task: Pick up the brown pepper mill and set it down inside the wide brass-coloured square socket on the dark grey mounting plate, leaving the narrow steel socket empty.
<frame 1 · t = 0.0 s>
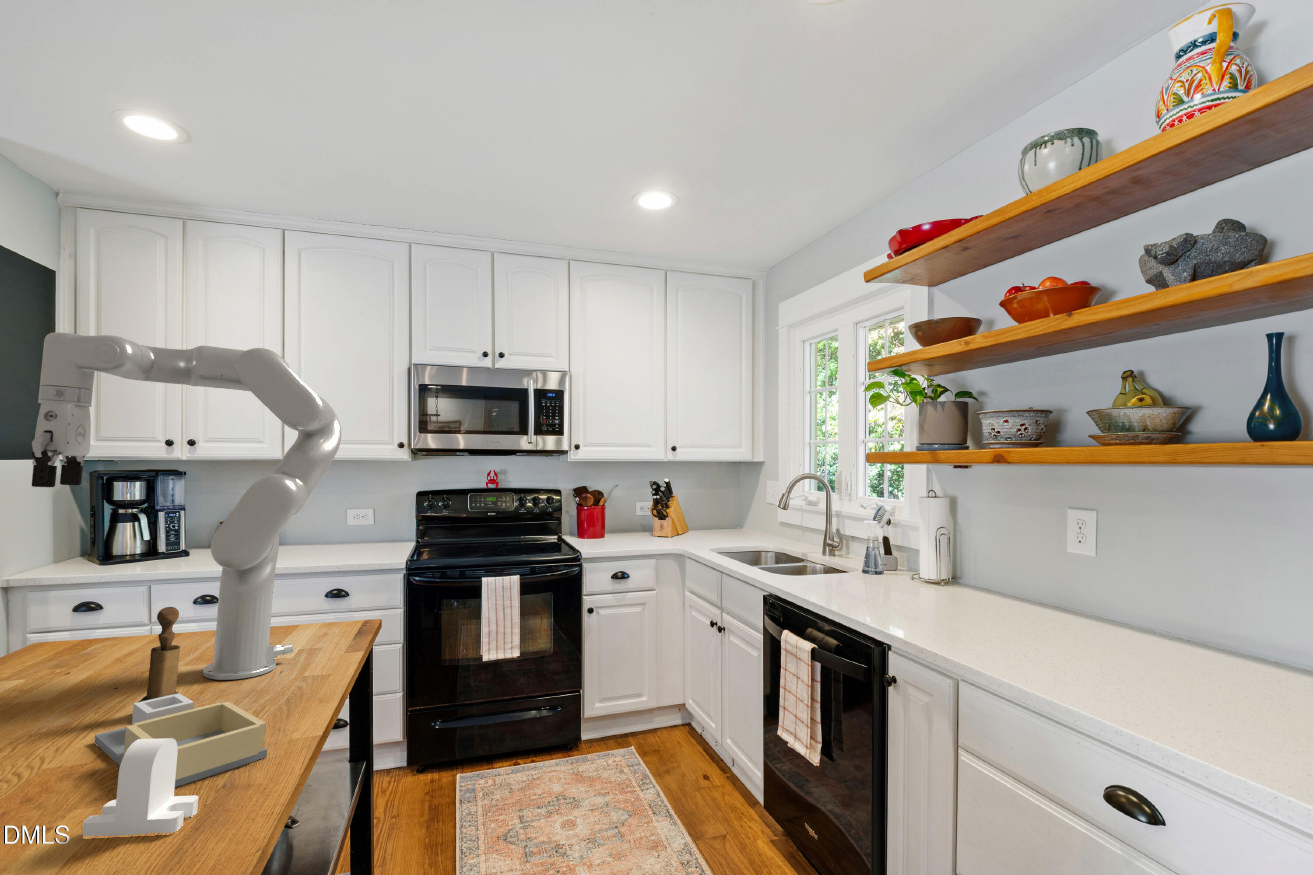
hand: (57, 485, 120), 37 cm above the table, tool pointing down, fingers open, 9 cm apart
brown pepper mill: (159, 714, 107), on the table
socket board: (179, 749, 94), on the table
cable organizer: (141, 826, 75), on the table
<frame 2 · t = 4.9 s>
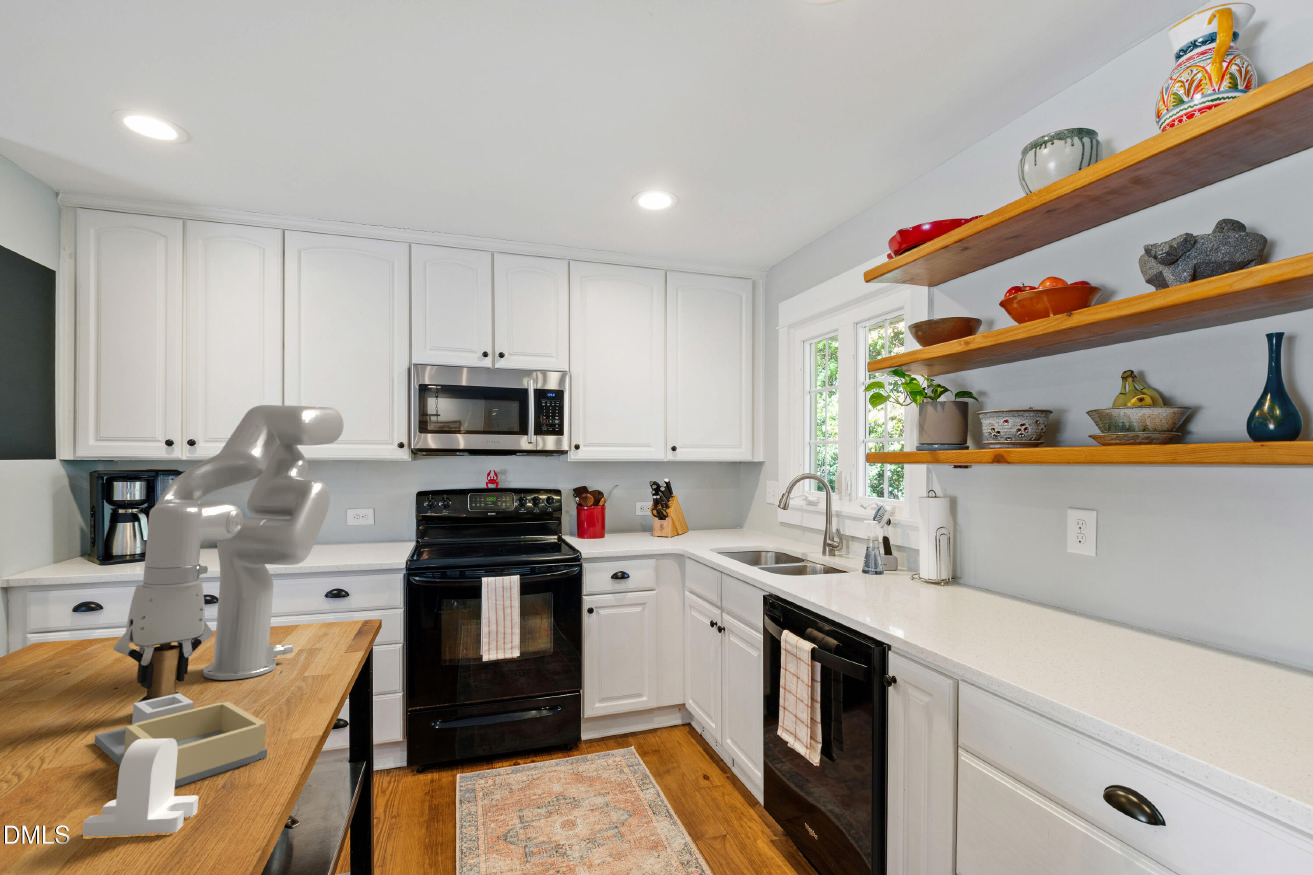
hand: (162, 681, 107), 5 cm above the table, tool pointing down, fingers closed on brown pepper mill, 4 cm apart
brown pepper mill: (159, 714, 107), on the table, touching gripper
everything else where it was.
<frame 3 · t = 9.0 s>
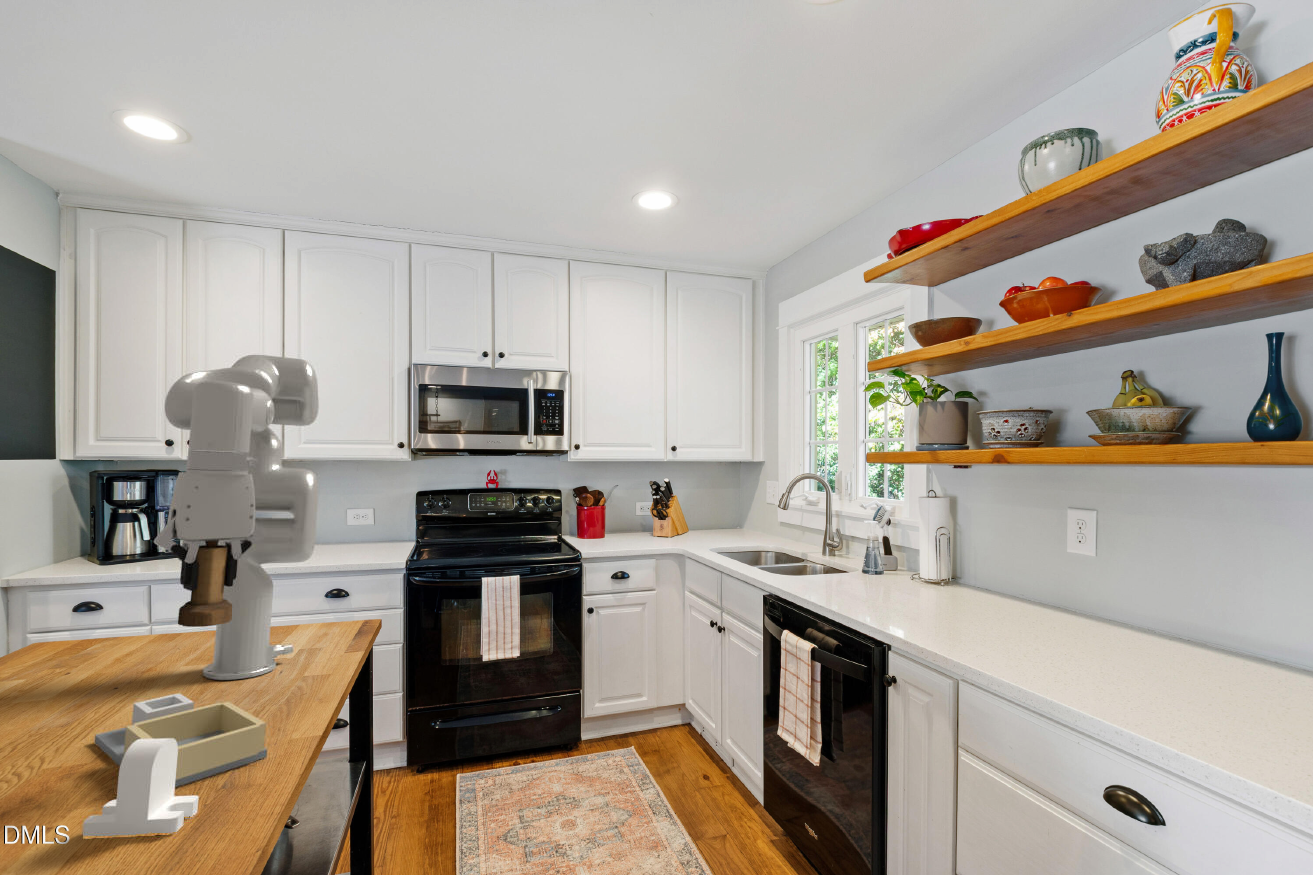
hand: (208, 585, 93), 25 cm above the table, tool pointing down, fingers closed on brown pepper mill, 4 cm apart
brown pepper mill: (205, 623, 93), point 20 cm above the table, touching gripper
everything else where it was.
when the fingers open (8 cm above the table, at t = 13.0 s): brown pepper mill drops 2 cm, resting on socket board.
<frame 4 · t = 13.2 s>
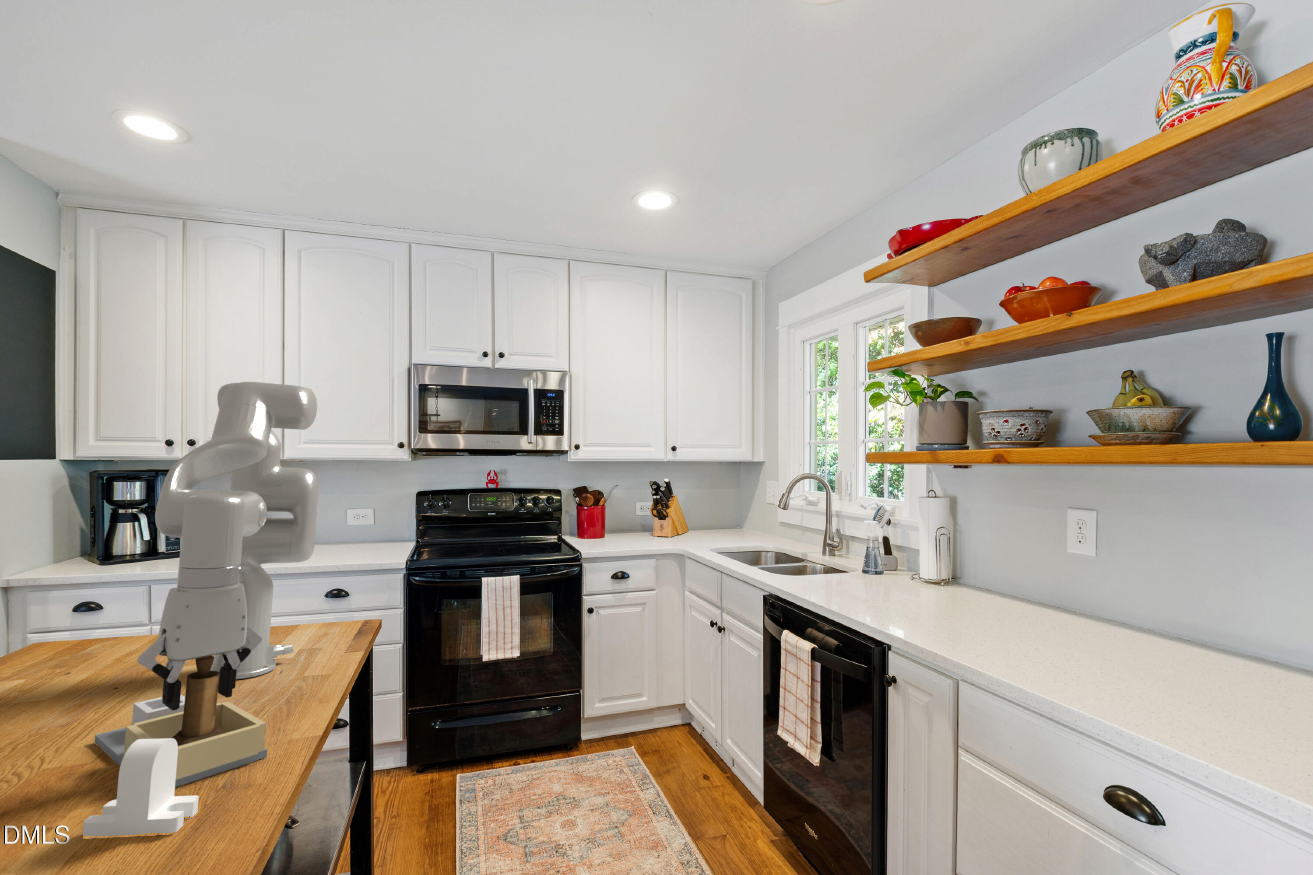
hand: (199, 699, 92), 9 cm above the table, tool pointing down, fingers open, 6 cm apart
brown pepper mill: (195, 752, 92), point 1 cm above the table, touching socket board
everything else where it was.
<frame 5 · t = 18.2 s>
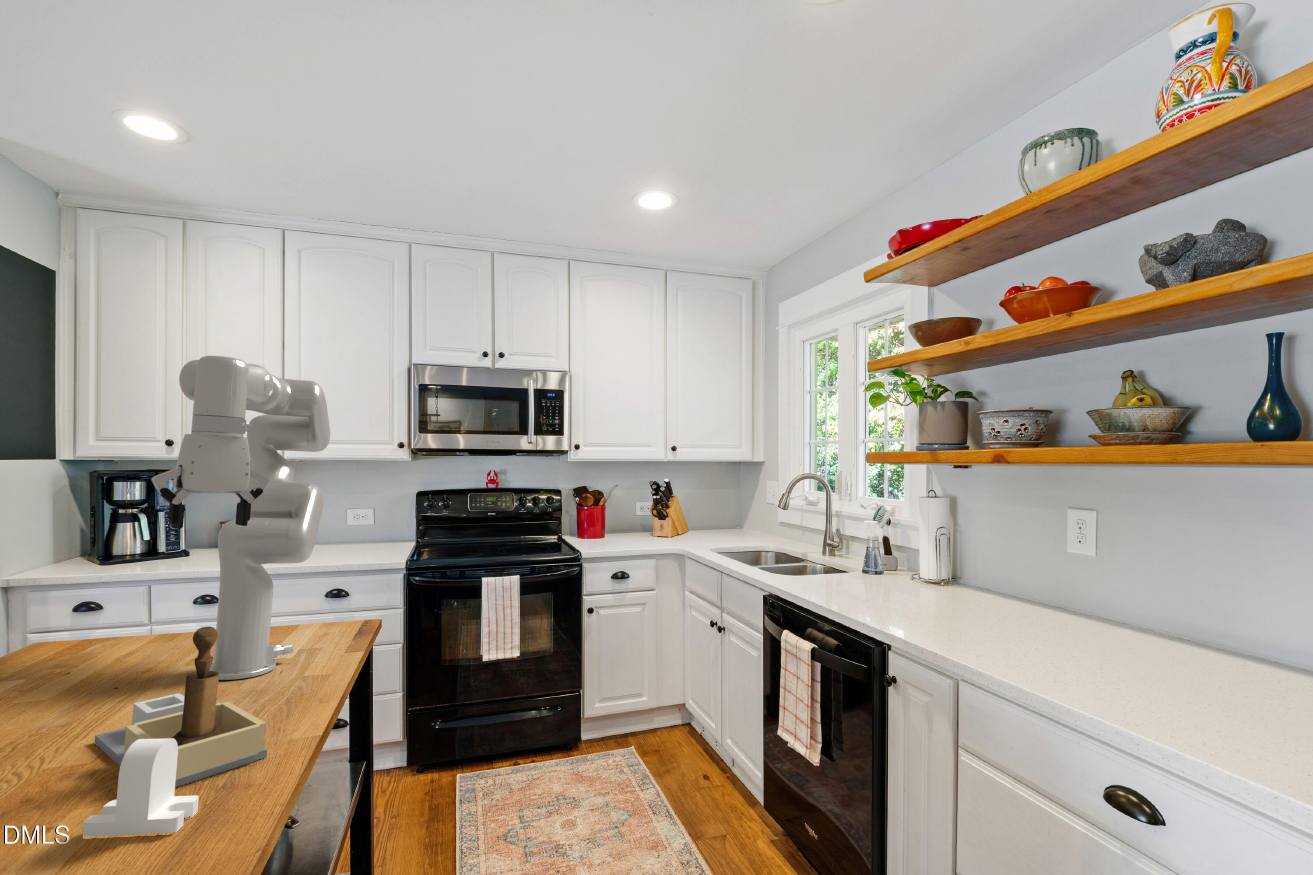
hand: (210, 526, 108), 32 cm above the table, tool pointing down, fingers open, 9 cm apart
nothing on the table moved.
at the end: brown pepper mill inside the target area on the socket board (0.3 cm from its centre), point 1.0 cm above the socket board's base; brown pepper mill tilted 0°; the gripper is holding nothing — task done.
